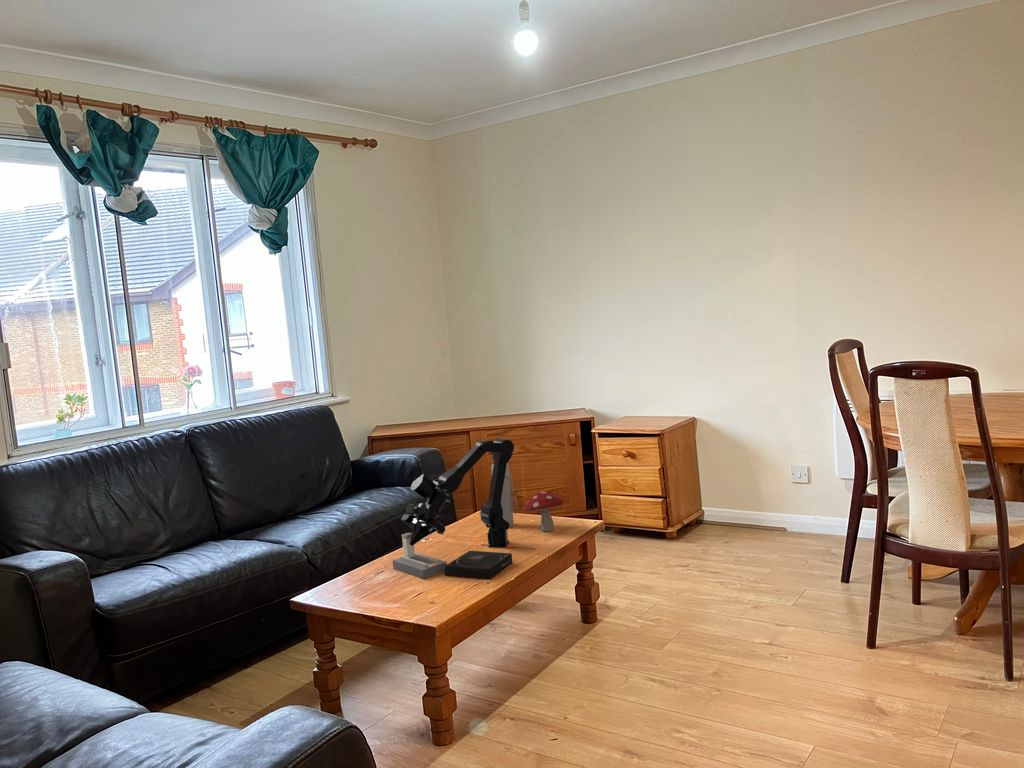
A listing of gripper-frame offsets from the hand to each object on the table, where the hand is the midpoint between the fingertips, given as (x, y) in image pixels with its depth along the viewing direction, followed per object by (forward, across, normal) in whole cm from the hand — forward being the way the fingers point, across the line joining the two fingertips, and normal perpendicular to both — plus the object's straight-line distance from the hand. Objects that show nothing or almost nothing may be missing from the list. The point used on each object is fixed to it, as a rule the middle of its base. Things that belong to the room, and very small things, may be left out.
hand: (410, 545), depth 273 cm
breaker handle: (+2, -4, +5) cm, 6 cm away
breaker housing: (+5, +2, +7) cm, 9 cm away
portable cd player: (-2, +20, +16) cm, 25 cm away
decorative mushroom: (-35, +6, +47) cm, 59 cm away
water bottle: (-33, -12, +45) cm, 57 cm away
